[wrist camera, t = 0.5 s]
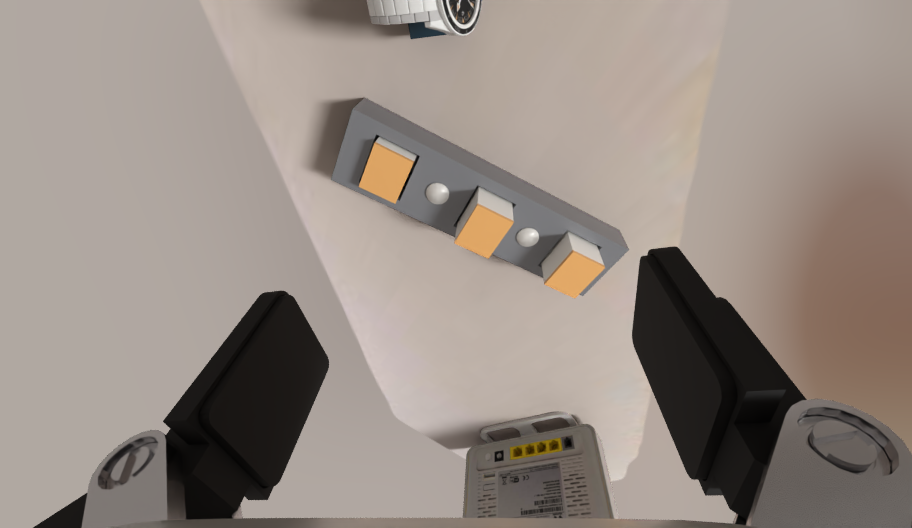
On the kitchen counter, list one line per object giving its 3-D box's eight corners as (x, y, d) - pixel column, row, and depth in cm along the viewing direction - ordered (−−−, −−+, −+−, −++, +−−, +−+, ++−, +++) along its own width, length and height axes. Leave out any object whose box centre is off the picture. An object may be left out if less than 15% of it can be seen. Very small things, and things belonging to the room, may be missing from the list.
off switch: (566, 228, 41) (573, 252, 38) (595, 243, 42) (605, 267, 39) (540, 259, 44) (544, 284, 41) (568, 273, 45) (575, 298, 42)
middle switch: (479, 184, 39) (477, 205, 35) (512, 200, 40) (513, 223, 36) (457, 220, 42) (454, 243, 38) (488, 235, 43) (488, 258, 39)
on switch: (385, 128, 38) (374, 143, 35) (421, 146, 39) (413, 163, 36) (370, 168, 41) (358, 186, 38) (403, 184, 42) (395, 203, 39)
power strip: (364, 97, 38) (351, 109, 34) (619, 230, 44) (629, 250, 41) (343, 164, 42) (330, 180, 39) (577, 275, 49) (583, 297, 46)
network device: (481, 452, 80) (477, 569, 64) (460, 432, 76) (451, 552, 60) (601, 429, 71) (631, 559, 55) (586, 404, 66) (614, 538, 50)
